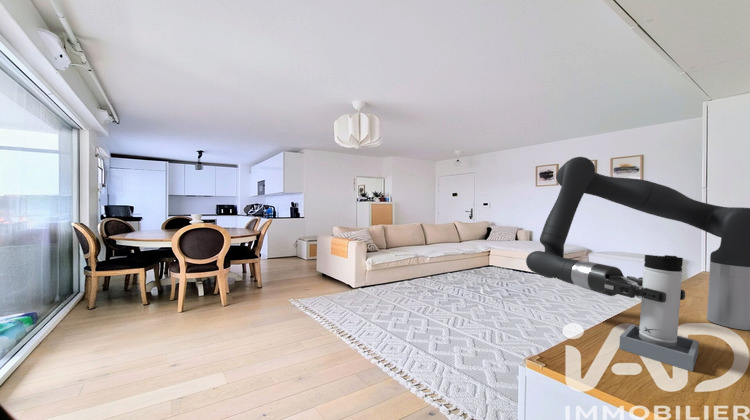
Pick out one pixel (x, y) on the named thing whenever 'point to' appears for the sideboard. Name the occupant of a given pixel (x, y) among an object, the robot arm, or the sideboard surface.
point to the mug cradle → (661, 349)
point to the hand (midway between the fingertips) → (674, 296)
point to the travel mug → (664, 316)
